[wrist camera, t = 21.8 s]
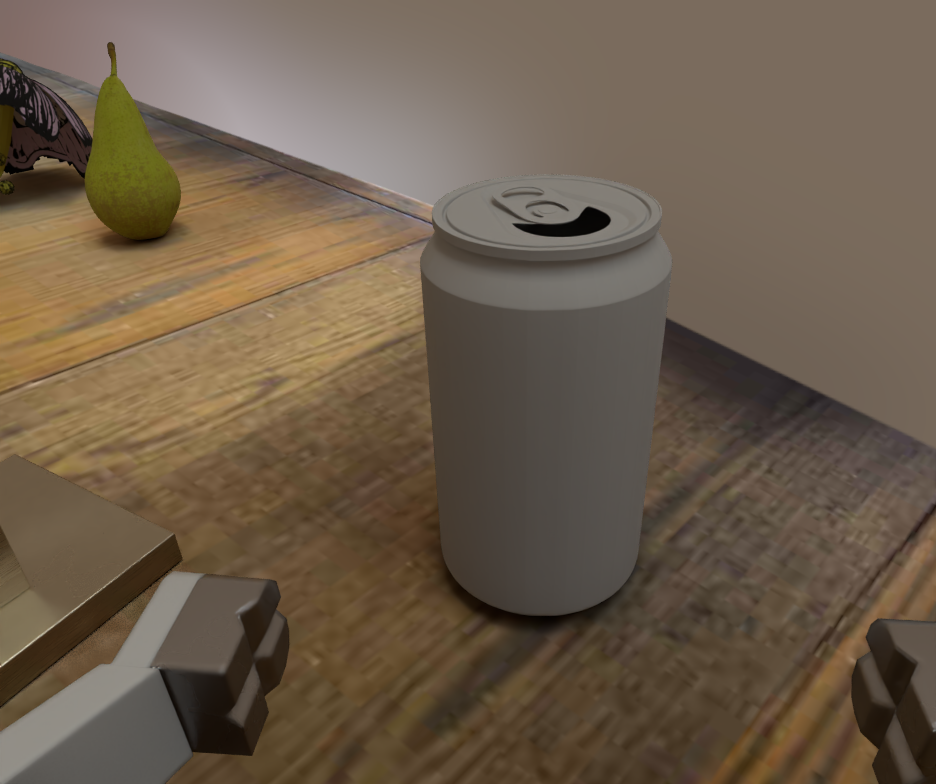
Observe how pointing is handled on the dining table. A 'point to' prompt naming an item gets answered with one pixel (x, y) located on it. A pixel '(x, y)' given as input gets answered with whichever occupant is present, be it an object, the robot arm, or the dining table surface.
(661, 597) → the dining table surface
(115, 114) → the fruit
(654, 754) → the dining table surface
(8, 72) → the decorative flower
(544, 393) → the beverage can
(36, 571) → the bracket
